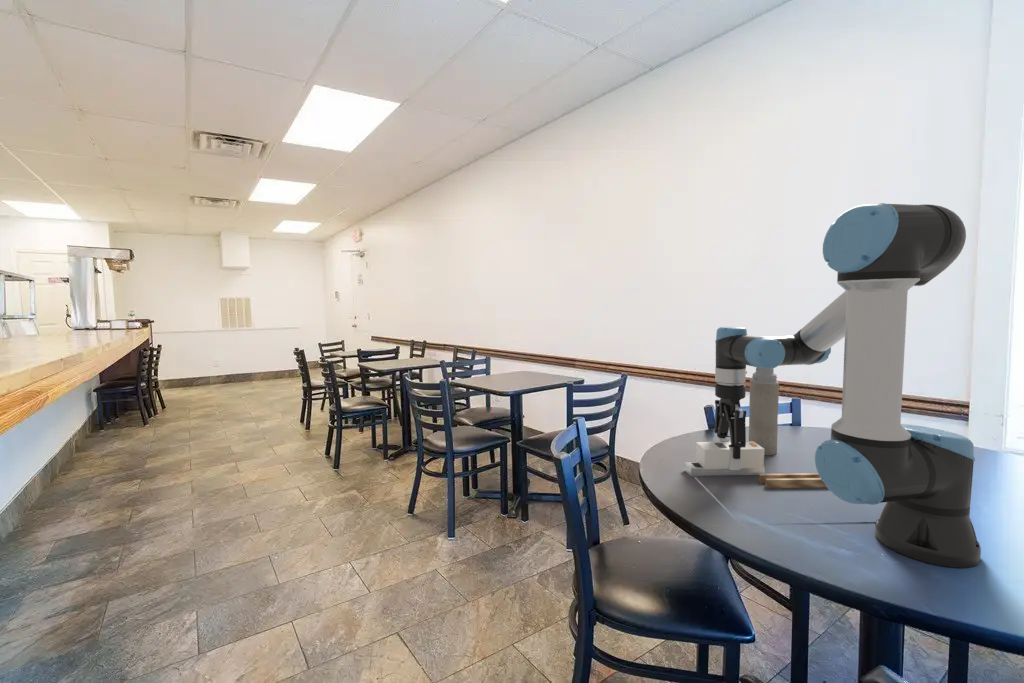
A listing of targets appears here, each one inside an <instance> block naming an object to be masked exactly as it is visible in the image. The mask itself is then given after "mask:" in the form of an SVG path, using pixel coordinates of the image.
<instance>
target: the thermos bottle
mask: <svg viewBox="0 0 1024 683" xmlns="http://www.w3.org/2000/svg"><path fill="white" fill-rule="evenodd" d="M774 369H775V368H773V369H765V368H762V369H760V368H757V367H755V372H753V373H752V376H751V377H752V379H751V380H749V405H748V406H749V407H748V408H749V411H748V441H754V442H755V443H757V444H758V445H760V446H761V447H762V448H764V456H765V455H767V456H772V455H773V456H774V455H776V454H777V453H778V433H779V432H778V429H779V427H778V425H779V422H778V418H779V401H780V400H779V396H780V395H779V393H780V383H779V382H780V381H777V378H778V376H777V374H776V373H775V372H774Z"/></svg>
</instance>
